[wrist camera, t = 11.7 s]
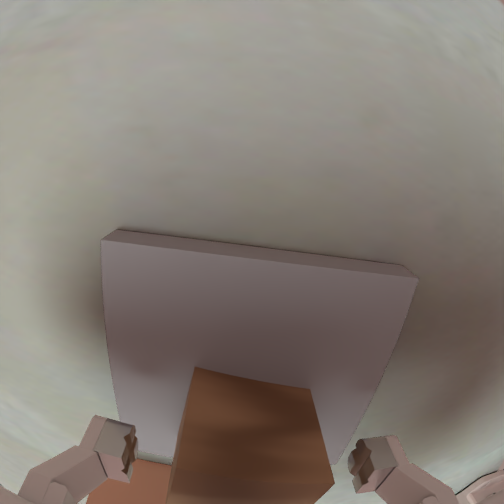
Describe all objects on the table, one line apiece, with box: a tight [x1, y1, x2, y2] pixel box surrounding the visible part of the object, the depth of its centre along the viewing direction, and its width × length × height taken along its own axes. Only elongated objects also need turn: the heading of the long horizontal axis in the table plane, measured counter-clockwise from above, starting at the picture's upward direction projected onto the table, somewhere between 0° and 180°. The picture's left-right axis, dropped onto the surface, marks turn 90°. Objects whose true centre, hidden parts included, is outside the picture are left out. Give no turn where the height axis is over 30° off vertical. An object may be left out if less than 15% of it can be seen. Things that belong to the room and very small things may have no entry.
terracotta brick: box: [86, 459, 172, 504], centre depth 15 cm, size 5×5×5 cm
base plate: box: [101, 230, 419, 465], centre depth 13 cm, size 12×12×2 cm
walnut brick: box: [165, 367, 335, 504], centre depth 10 cm, size 5×5×5 cm
